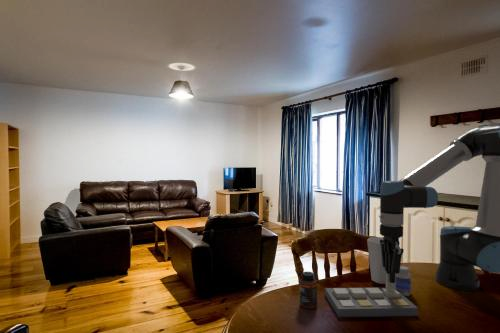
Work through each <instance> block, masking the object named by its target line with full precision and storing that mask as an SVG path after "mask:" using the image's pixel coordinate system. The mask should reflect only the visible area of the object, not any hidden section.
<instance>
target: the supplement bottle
mask: <svg viewBox="0 0 500 333" xmlns="http://www.w3.org/2000/svg"><path fill="white" fill-rule="evenodd" d="M301 276H302V278H300V280H299V305H300V306H301V308H303V309H306V310H309V309H310V310H314V309H315V308H317V307H318V281H317V280H316V279H315V274H314V272H312V271H303V272H302V275H301Z"/></svg>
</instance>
